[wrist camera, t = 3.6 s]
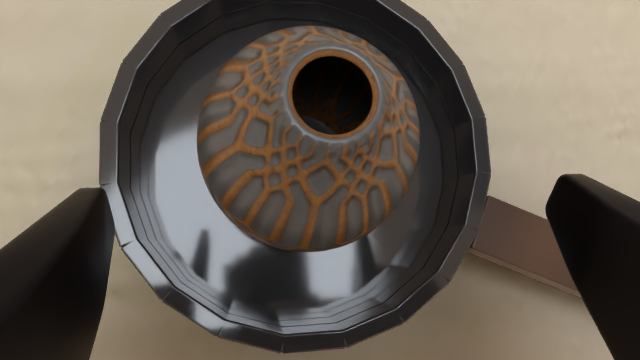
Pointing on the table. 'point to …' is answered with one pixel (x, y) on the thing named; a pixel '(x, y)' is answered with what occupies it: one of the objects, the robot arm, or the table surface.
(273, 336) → the pan
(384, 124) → the vase
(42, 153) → the table surface
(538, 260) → the pan handle
